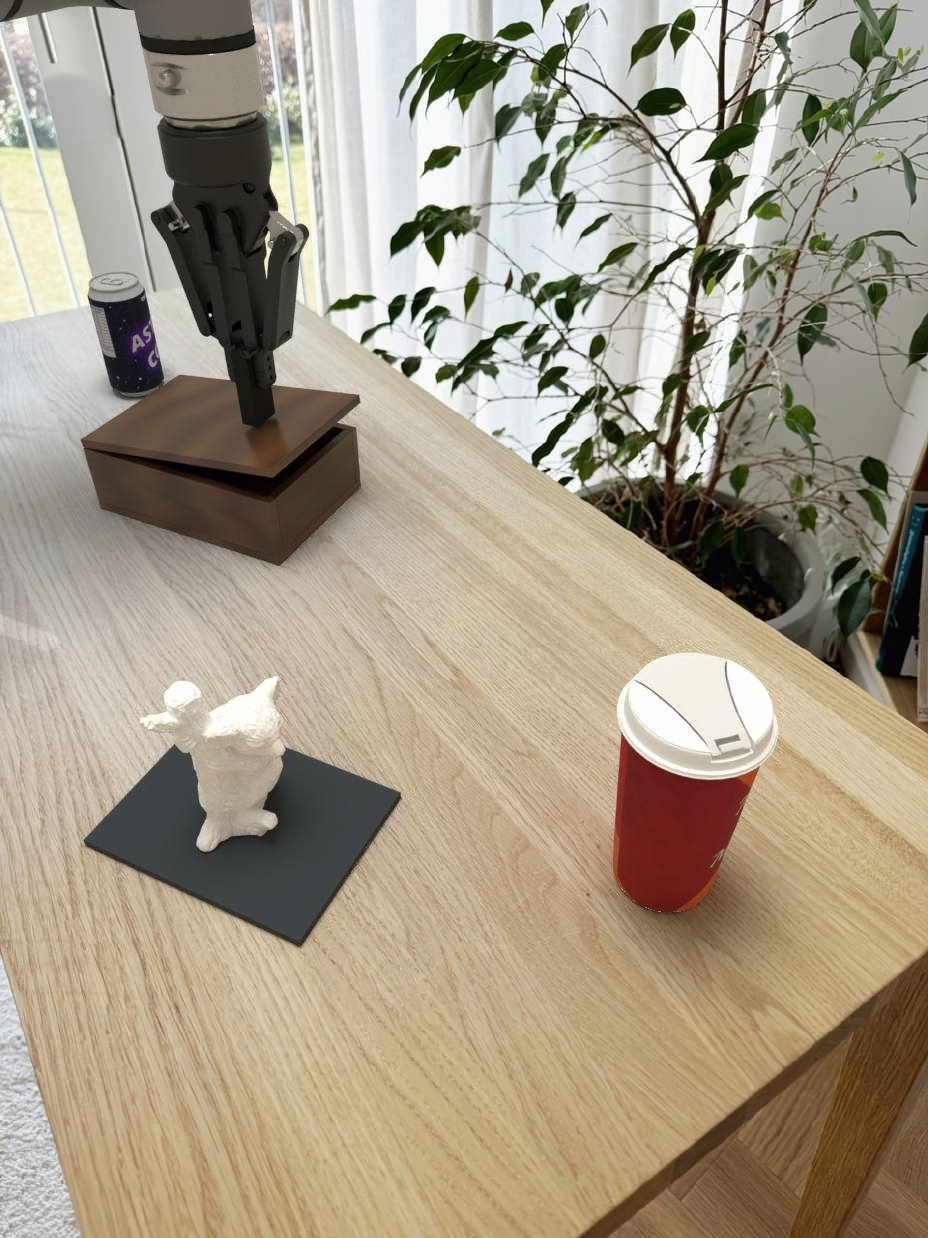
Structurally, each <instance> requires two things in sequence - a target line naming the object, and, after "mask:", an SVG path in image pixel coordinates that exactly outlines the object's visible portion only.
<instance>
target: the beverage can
mask: <svg viewBox="0 0 928 1238" xmlns="http://www.w3.org/2000/svg"><path fill="white" fill-rule="evenodd" d="M139 279H140V278H139V276H138V274H136V273H134V272H131V271H124V270H115V271H114V270H113V271H106V272H102V273H99V274H96V275H95V276H93V277H91V278H90V279H89V280H88V291H87V300H88V305H89V308H90V311H91V315H92V320H93V323H94V327H95V331H96V335H97V339H98V342H99V346H100V350H101V354H102V358H103V362H104V366H105V369H106V373H107V376H108V377H107V378H108V381H109V384H110V387H111V388H112V389H113V390H115V391H116V392H118V393H120V394H121V395H123V396H124V397H129V398H141V397H146V396H148V395H149V394H151V393H152V392H154V391H155V390H157V389H158V388H160V387H159V386H160V385H161V384H162V383H163V381H164V380H165V375H164V370H163V366H162V361H161V356H160V352H159V348H158V344H157V338H156V334H155V329H154V325H153V320H152V316H151V310H150V307H149V302H148V297H147V294H146V293H147V292H146V289H145V287H144V285H143V284H142V283H141V282H140V280H139Z"/></svg>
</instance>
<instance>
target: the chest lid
mask: <svg viewBox="0 0 928 1238" xmlns="http://www.w3.org/2000/svg"><path fill="white" fill-rule="evenodd" d="M271 386H272V393H273V400H274V407H275V414H274V415H273V416H271V417H270V418H269V419H267V420H266V421H265V422H264V423H262V424H261V425H260V426H258V427H253V426H249V425H246V424H243V423H242V417H241V411H240V406H239V400H238V394H237V388H236V383H235V382H231V380H230V379H226V378H225V379H223V378H216V377H206V376H197V375H189V374H178V375H177V376H175V377H174V378H172V379H171V380H169V381H167V382H166V383H164V384H162V385H161V386H160V387H158V389H157V390H155V391H154V392H152V393H151V394H149V395H146V396H144V397H143V398H142V399H140V400H138V401H136V402H135V403H134V404H132V405H131V406H129V407H128V408H126V409H125V410H123V411H122V412H120V413H118V414H117V415H116V416H114V417H112V418H110V419H109V420H108V421H106V422H105V423H103V424H102V425H100V426H98V427H97V428H96V429H94V430H93V431H90V433H88V434H86V435H85V436H83V437H82V438H80V443H81V446H82V447H83V448H90V449H97V450H103V451H109V452H115V453H122V454H128V455H134V456H140V457H146V458H153V459H159V460H165V461H171V462H177V463H184V464H190V465H196V466H202V467H209V468H215V469H221V470H227V471H233V472H240V473H246V474H252V475H258V476H265V477H271V478H273V477H274V476H276V475H277V474H278V473H279V472H280V471H281V470H283V469H284V468H285V467H286V466H287V465H288V464H290V463H291V462H292V461H293V460H294V459H295V458H297V457H298V456H299V455H300V454H301V453H302V452H304V451H305V450H306V449H307V448H308V447H309V446H311V445H312V444H313V443H314V442H315V441H316V440H318V439H319V438H320V437H321V436H322V435H323V434H325V433H326V432H327V431H328V430H329V429H330V428H332V427H333V426H334V425H335V424H336V423H337V422H338V423H340V421H341V420H342V419H343V418H345V417H346V416H347V415H348V414H349V413H351V412H352V411H353V410H354V409H355V408H356V407H357V406H359V404H361V397H360V394H358V393H350V392H349V393H347V392H339V391H330V390H321V389H314V388H313V389H312V388H304V387H296V386H287V385H277V384H273V385H271Z"/></svg>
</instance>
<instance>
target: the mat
mask: <svg viewBox="0 0 928 1238" xmlns="http://www.w3.org/2000/svg"><path fill="white" fill-rule="evenodd" d="M284 747H285V752H284V754H283V755H282V756H281V760H282V763H283V768H282V771H281V774H280V776H279V779H278V781H277V783H276V784H275V786H274V788H273V789H272V790H271V791H269V792H268V794H267V799H266V800H265V803H264V806H263V809H262V810H266V811H269V812H272V813H274V814H275V815H276V817H277V821H278V822H277V825H276V826H275V827H274V828H273V829H271V830H267V831H266V833H265V834H264V835H262V836H258V835H241V836H231V837H229V838H228V839H226V840H225V841H222V842H220V843H219V844H218V845H217V846H216V847H215V849H213V850H211V851H208V852H203V851H201V850H200V849H199V848H198V847H197V845H196V843H197V838H198V836H199V834H200V831H201V828H202V826H203V824H204V822H205V820H206V817H207V813H206V811H205V810H204V809H203V807H202V806H201V804H200V802H199V793H198V782H199V781H198V777H197V773H196V771H195V770H194V766H193V760H192V755H190V753H189V752H188V753H183V752H182V751H181V750H179V748H178V747H177V746H176V745H175V743H173V745H172V746H171V747H170V748H168V750H167V751H166V752H165V753H164V754H163V755H162V756H161V757H160V758H159V759H158V760H157V762H155V763H154V765H152V767H151V768H150V769H149V770H148V771H147V772H146V773H145V774H144V775H143V776H142V777H141V779H139V780H138V782H136V784H135V785H134V786H133V787H132V788H130V790H129V791H128V792H127V793H126V794H125V795H124V797H122V799H121V800H119V802H118V803H116V804H115V806H114V807H112V809H111V810H110V811H109V812H108V813H107V814H106V816H105V817H103V818H102V820H100V821H99V823H98V824H97V825H95V827H94V828H93V829H92V830H91V831H90V832H89V833H88V835H86V836H85V837H84V838H83V840H82V841H83V843H84V845H85V846H87V847H89V848H91V849H94V850H96V851H97V852H100V853H102V854H104V855H106V856H108V857H111V858H112V859H115V860H117V861H119V862H121V863H123V864H125V865H127V866H129V867H132V868H133V869H136V870H138V871H140V872H142V873H144V874H147V876H150V877H153V878H155V879H157V880H159V881H162V882H163V883H166V884H168V885H169V886H171V887H174V888H176V889H178V890H180V891H183V892H184V893H186V894H189V895H192V896H193V897H195V898H197V899H200V900H201V901H204V902H206V903H208V904H210V905H212V906H214V907H216V908H218V909H220V910H223V911H224V912H227V913H229V914H231V915H234V916H235V917H237V918H240V919H242V920H244V921H246V922H248V923H250V924H252V925H255V926H256V927H259V928H260V929H263V930H265V931H267V932H269V933H271V934H273V935H276V936H277V937H279V938H282V939H284V940H286V941H289V942H290V941H291V942H290V943H292V942H293V944H295V945H296V946H299V945H301V946H302V945H303V943H304V941H306V939H307V937H308V935H309V934H310V933H309V931H310V932H311V931H312V930H313V928H314V927H313V926H315V925H316V924H317V922H318V921H319V919H320V918H321V916H322V915H323V913H324V912H325V910H326V909H327V908H328V906H329V905H330V903H331V901H332V900H333V898H334V897H335V896H336V894H337V893H336V892H338V891H339V890H340V888H341V887H342V885H343V884H344V882H345V881H346V879H347V878H348V877H349V875H350V874H351V872H352V870H353V869H354V867H355V866H356V865H357V863H358V862H359V860H360V859H361V857H362V856H363V854H364V853H365V852H366V850H367V848H368V847H369V845H370V844H371V842H372V841H373V839H374V838H375V836H376V835H377V834H378V832H379V831H380V829H381V827H382V826H383V824H384V823H385V822H386V820H387V819H388V817H389V816H390V814H391V813H392V811H393V810H394V808H395V807H396V805H397V804H398V802H399V801H400V799H401V798H402V792H401V791H398V790H395V789H394V788H390V787H388V786H385V785H383V784H380V783H378V782H375V781H373V780H371V779H368V778H365V777H363V776H360V775H357V774H355V773H353V772H351V771H347V770H345V769H342V768H340V767H338V766H335V765H332V764H330V763H327V762H325V761H322V760H321V759H320V760H319V759H317V758H315V757H312V756H310V755H307V754H304V753H302V752H300V751H297V750H294V749H292V748H290V747H287V746H284ZM388 815H389V816H388ZM369 843H370V844H369ZM366 847H367V848H366ZM354 865H355V866H354ZM352 868H353V869H352ZM350 871H351V872H350ZM348 874H349V875H348ZM346 877H347V878H346ZM344 880H345V881H344ZM342 883H343V884H342ZM341 884H342V885H341ZM340 886H341V887H340ZM339 887H340V888H339ZM338 889H339V890H338ZM337 890H338V891H337ZM335 893H336V894H335ZM333 896H334V897H333ZM331 899H332V900H331ZM329 902H330V903H329ZM327 905H328V906H327ZM325 908H326V909H325ZM321 914H322V915H321ZM320 915H321V916H320ZM319 917H320V918H319ZM318 918H319V919H318ZM317 920H318V921H317ZM316 921H317V922H316ZM315 923H316V924H315ZM314 924H315V925H314ZM311 929H312V930H311ZM308 933H309V934H308ZM307 934H308V935H307ZM306 936H307V937H306Z"/></svg>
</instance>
